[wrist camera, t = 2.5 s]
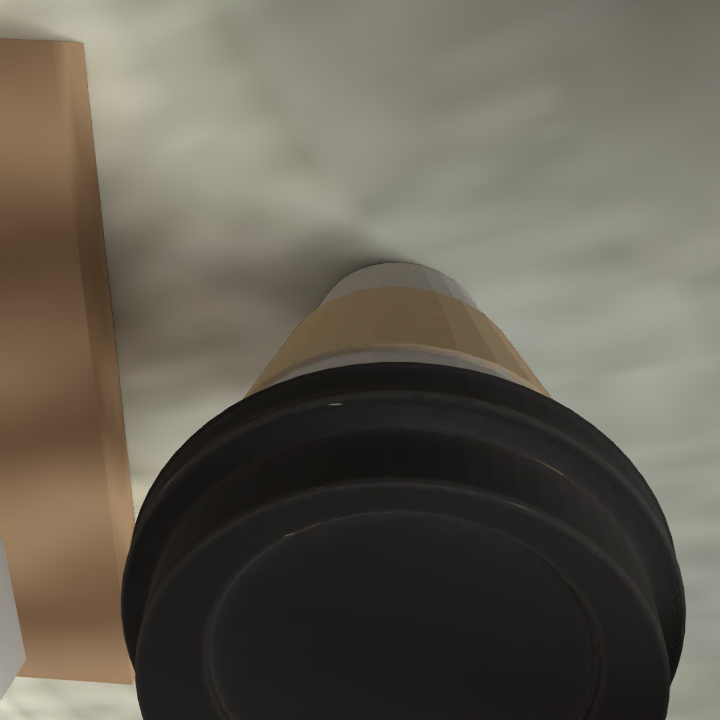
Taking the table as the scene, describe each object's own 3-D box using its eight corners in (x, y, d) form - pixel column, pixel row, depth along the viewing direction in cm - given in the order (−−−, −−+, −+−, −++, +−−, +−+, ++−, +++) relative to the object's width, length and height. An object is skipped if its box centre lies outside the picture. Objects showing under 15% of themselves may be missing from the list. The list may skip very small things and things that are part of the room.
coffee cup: (322, 486, 26) (240, 941, 13) (218, 260, 23) (-47, 543, 9) (565, 414, 25) (776, 850, 11) (489, 159, 21) (656, 323, 8)
